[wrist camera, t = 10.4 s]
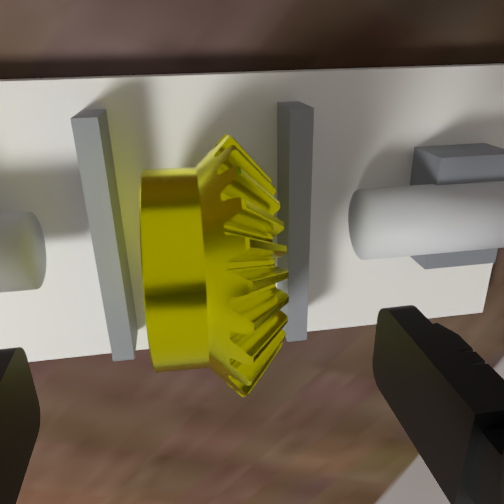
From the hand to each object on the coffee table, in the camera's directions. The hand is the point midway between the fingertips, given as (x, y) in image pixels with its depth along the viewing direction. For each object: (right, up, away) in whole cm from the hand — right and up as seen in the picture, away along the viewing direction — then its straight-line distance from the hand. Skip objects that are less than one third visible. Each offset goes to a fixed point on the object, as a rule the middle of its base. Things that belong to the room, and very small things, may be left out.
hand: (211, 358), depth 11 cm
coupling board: (-1, +4, +9) cm, 10 cm away
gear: (-1, +4, +8) cm, 9 cm away
